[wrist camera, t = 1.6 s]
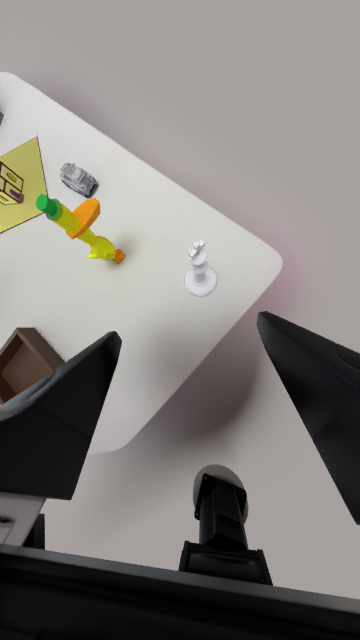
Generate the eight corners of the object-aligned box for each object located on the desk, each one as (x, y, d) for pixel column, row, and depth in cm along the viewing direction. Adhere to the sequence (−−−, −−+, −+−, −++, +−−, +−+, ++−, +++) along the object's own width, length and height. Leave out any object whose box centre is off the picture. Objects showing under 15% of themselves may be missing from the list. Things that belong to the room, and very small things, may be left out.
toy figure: (126, 236, 26) (59, 157, 14) (139, 248, 25) (80, 177, 13) (101, 263, 26) (16, 209, 15) (112, 276, 26) (33, 231, 14)
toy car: (72, 168, 29) (57, 150, 26) (100, 183, 28) (88, 166, 25) (62, 184, 29) (46, 168, 26) (90, 200, 28) (76, 185, 25)
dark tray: (78, 377, 26) (64, 382, 23) (40, 425, 26) (22, 435, 24) (33, 327, 28) (16, 327, 25) (0, 372, 29) (-20, 376, 26)
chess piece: (178, 283, 24) (159, 249, 14) (199, 259, 23) (194, 208, 13) (201, 303, 23) (197, 282, 13) (223, 279, 22) (236, 239, 13)
